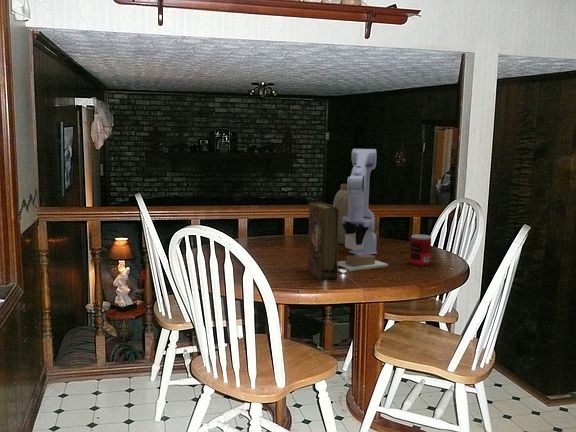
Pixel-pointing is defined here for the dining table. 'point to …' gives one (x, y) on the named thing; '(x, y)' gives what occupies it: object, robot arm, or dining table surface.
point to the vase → (342, 210)
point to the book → (323, 240)
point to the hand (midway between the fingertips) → (354, 243)
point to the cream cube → (352, 242)
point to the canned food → (420, 250)
